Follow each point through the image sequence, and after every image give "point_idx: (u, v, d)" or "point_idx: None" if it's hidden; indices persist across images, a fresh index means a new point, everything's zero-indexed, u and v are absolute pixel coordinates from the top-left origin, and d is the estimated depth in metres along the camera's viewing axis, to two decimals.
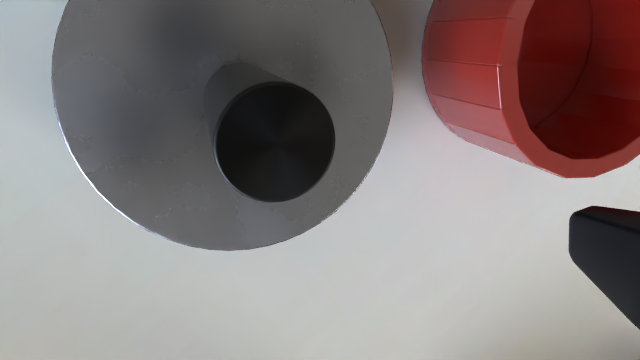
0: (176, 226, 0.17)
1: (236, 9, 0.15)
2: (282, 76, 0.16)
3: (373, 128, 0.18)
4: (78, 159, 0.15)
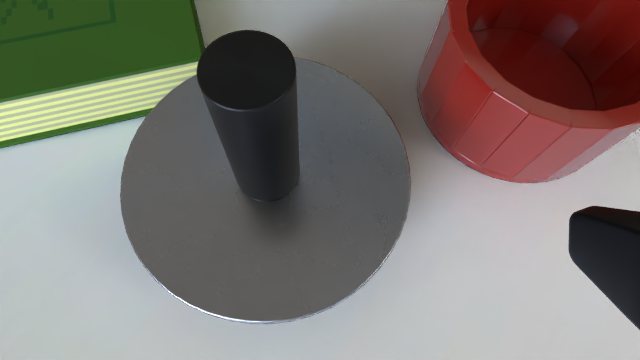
0: (232, 301, 0.16)
1: None
2: None
3: (393, 162, 0.19)
4: (140, 253, 0.17)
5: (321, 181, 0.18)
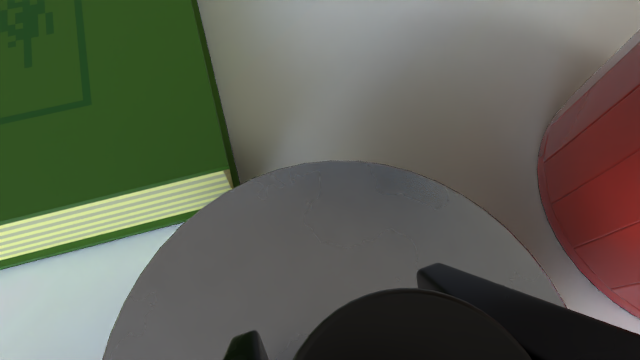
0: None
1: (308, 265, 0.12)
2: None
3: None
4: None
5: None
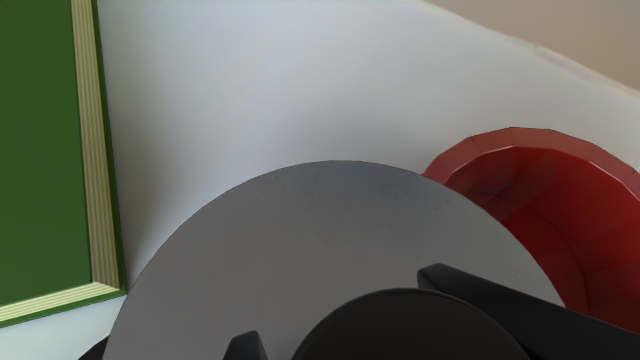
0: None
1: (308, 265, 0.12)
2: None
3: None
4: None
5: None
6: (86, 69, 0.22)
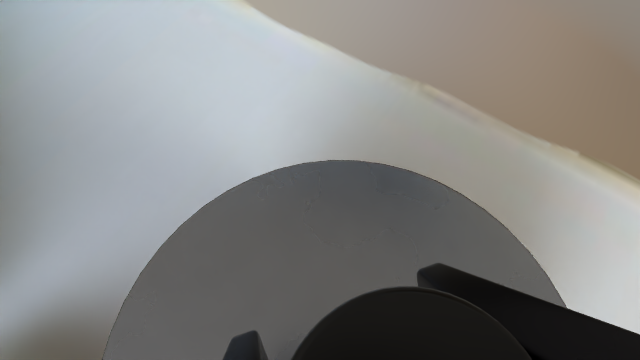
0: None
1: (308, 264, 0.12)
2: None
3: None
4: None
5: None
6: None
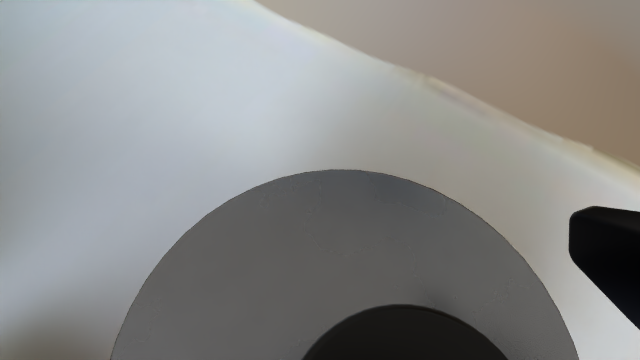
0: None
1: (309, 272, 0.12)
2: None
3: None
4: None
5: None
6: None
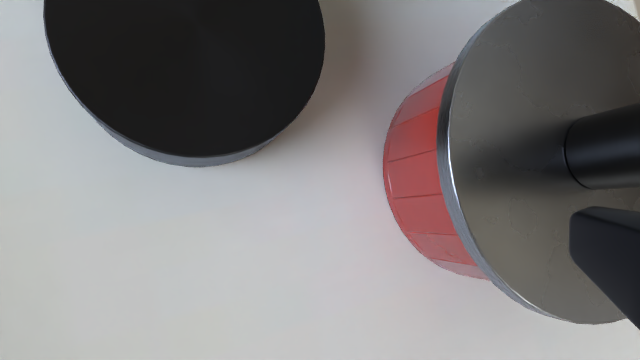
0: (494, 240, 0.14)
1: (615, 81, 0.17)
2: None
3: None
4: (453, 122, 0.14)
5: (623, 205, 0.16)
6: None
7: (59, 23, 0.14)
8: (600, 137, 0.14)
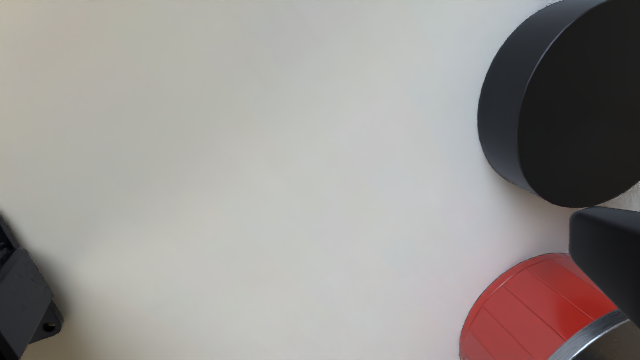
0: None
1: None
2: None
3: None
4: (626, 323, 0.20)
5: None
6: None
7: (586, 23, 0.18)
8: None
